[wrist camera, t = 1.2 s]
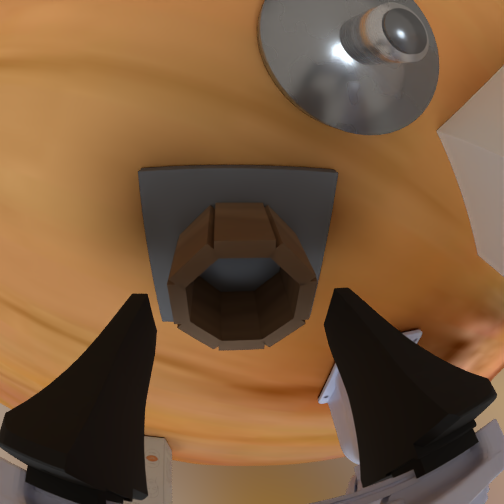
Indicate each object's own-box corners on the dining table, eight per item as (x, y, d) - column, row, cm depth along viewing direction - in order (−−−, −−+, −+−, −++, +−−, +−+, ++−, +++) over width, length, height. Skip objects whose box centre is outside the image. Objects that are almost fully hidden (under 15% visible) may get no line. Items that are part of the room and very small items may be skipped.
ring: (287, 299, 16) (301, 345, 13) (185, 301, 15) (180, 350, 12) (301, 203, 13) (326, 240, 10) (174, 203, 12) (160, 241, 9)
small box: (120, 444, 30) (115, 518, 19) (107, 428, 27) (97, 514, 15) (173, 450, 31) (173, 528, 20) (166, 437, 28) (165, 528, 17)
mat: (307, 310, 17) (309, 317, 17) (163, 314, 16) (162, 321, 16) (333, 169, 13) (338, 172, 12) (141, 168, 12) (138, 171, 11)
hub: (419, 145, 12) (473, 169, 8) (252, 122, 11) (267, 133, 8) (426, 2, 7) (478, -8, 4) (261, -47, 6) (278, -92, 3)
